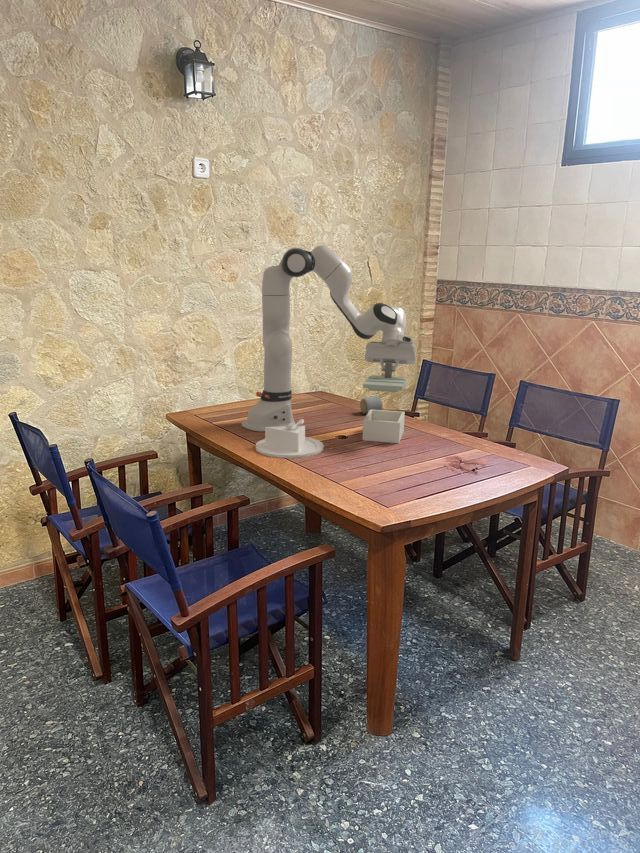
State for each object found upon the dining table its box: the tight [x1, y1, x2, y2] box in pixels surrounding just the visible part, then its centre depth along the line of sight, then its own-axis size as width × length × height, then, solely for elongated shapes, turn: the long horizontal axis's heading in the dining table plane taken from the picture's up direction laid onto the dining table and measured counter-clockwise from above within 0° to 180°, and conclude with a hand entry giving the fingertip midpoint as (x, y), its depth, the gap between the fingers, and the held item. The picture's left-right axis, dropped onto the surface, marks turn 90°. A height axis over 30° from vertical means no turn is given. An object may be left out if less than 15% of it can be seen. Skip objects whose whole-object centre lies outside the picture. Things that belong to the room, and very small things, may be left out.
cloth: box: [440, 455, 489, 474], centre depth 214 cm, size 20×22×2 cm
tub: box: [362, 409, 405, 444], centre depth 248 cm, size 18×14×8 cm
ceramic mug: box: [359, 395, 383, 415], centre depth 281 cm, size 11×8×8 cm
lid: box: [362, 362, 408, 393], centre depth 243 cm, size 19×15×9 cm
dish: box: [255, 418, 325, 459], centre depth 230 cm, size 25×25×11 cm
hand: (388, 370), depth 248 cm, fingers closed on lid, 2 cm apart
